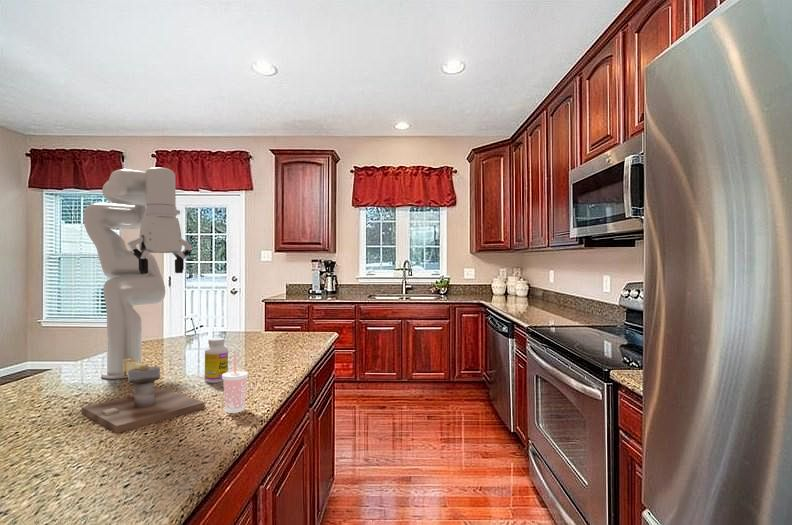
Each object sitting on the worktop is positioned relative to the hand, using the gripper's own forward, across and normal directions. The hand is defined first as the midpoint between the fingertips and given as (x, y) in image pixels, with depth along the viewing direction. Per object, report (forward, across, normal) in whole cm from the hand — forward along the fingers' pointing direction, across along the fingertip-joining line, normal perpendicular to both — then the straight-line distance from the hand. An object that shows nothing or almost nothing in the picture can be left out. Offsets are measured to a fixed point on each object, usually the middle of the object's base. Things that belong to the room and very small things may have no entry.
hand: (162, 273), depth 125 cm
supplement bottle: (+34, -16, 0) cm, 37 cm away
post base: (+34, +10, +11) cm, 37 cm away
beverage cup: (+35, -4, +28) cm, 45 cm away
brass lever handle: (+26, +10, +8) cm, 29 cm away
